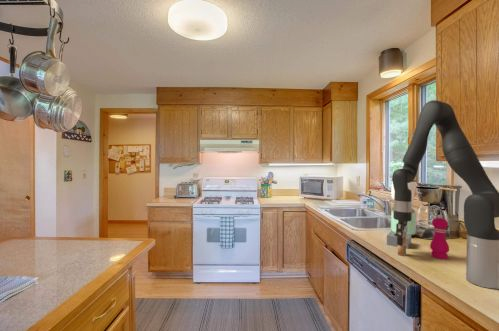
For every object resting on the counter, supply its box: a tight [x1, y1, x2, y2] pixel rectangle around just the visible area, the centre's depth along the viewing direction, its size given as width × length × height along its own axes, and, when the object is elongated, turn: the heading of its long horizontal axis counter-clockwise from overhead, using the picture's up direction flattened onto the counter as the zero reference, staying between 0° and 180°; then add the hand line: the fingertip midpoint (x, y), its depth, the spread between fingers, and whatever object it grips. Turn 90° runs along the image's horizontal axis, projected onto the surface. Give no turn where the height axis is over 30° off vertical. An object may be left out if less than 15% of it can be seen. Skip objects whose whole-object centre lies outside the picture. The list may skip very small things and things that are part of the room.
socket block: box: [386, 231, 412, 250], centre depth 136 cm, size 10×10×5 cm
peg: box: [397, 233, 407, 257], centre depth 121 cm, size 3×3×10 cm
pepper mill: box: [429, 214, 450, 260], centre depth 118 cm, size 7×7×20 cm
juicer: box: [390, 179, 417, 237], centre depth 154 cm, size 19×13×35 cm
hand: (401, 243), depth 121 cm, fingers open, 8 cm apart
